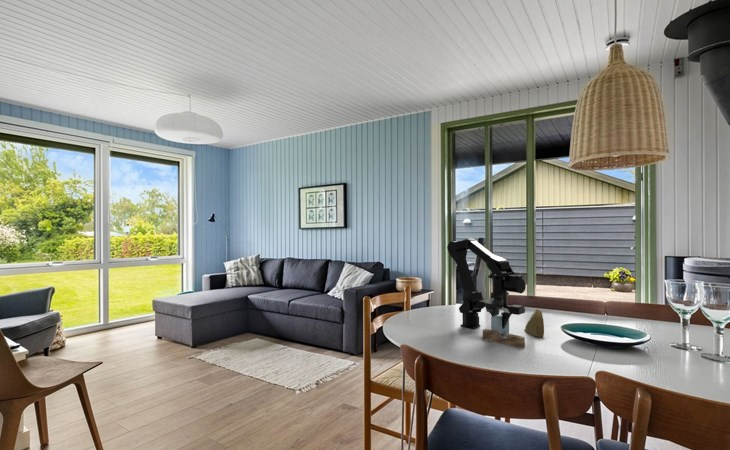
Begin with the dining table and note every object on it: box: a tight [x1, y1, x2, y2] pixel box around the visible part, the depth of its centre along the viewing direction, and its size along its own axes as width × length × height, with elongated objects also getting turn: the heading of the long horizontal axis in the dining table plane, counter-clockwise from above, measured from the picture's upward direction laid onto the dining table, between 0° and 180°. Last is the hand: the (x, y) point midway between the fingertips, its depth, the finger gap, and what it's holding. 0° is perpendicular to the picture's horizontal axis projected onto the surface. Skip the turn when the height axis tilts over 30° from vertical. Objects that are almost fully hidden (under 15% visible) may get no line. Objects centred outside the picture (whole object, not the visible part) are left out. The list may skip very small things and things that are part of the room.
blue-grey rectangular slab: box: [490, 313, 510, 337], centre depth 159 cm, size 10×2×8 cm, turn 132°
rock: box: [524, 309, 545, 338], centre depth 160 cm, size 11×9×10 cm
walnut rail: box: [481, 328, 526, 349], centre depth 149 cm, size 16×2×4 cm, turn 42°
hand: (500, 327), depth 159 cm, fingers closed on blue-grey rectangular slab, 2 cm apart
